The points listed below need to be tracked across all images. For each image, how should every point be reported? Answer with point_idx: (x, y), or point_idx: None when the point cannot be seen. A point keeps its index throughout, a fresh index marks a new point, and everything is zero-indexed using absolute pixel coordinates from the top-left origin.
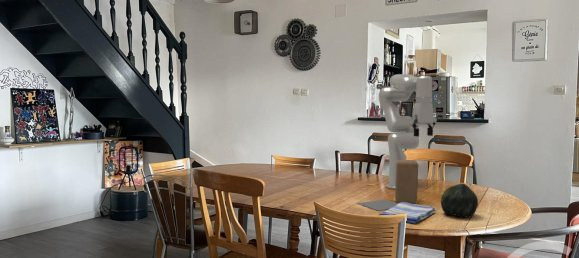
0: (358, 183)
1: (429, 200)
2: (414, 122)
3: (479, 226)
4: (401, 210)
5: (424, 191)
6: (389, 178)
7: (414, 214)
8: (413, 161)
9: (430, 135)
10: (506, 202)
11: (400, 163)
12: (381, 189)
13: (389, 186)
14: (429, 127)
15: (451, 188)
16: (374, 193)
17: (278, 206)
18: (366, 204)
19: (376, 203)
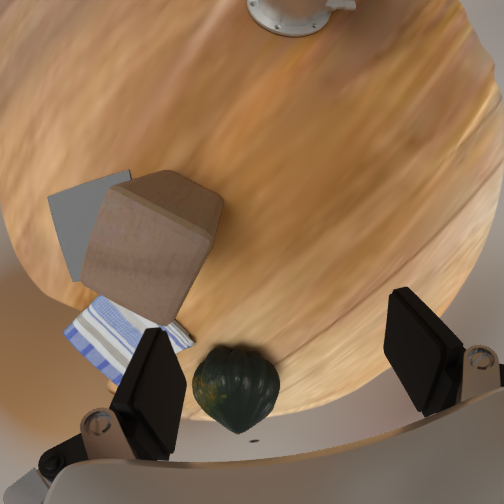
0: None
1: (269, 218)
2: (108, 478)
3: None
4: (110, 327)
5: (343, 92)
6: None
7: (129, 355)
8: (167, 283)
9: (385, 338)
10: (430, 299)
11: (91, 288)
12: (209, 16)
13: (248, 7)
14: (441, 386)
15: (212, 411)
16: (147, 68)
17: None
18: (62, 218)
19: (87, 215)
